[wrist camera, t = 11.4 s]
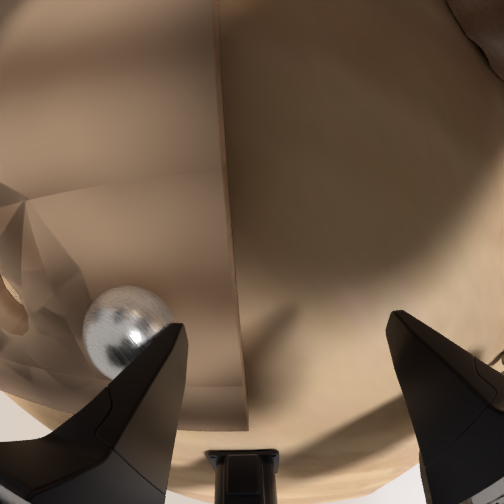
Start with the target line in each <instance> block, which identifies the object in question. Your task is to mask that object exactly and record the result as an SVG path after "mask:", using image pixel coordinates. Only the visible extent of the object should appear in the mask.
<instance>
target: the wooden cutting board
mask: <svg viewBox="0 0 504 504" xmlns="http://www.w3.org/2000/svg"><path fill="white" fill-rule="evenodd" d="M0 274H2V275H3V276H4V277H5V278H6V279H7V281H8V282H9V283H10V285H11V286H12V287H13V288H14V290H15V291H16V292H17V293H18V295H19V297H20V299H21V301H22V303H23V305H21V304H20V303H18V302H17V301H16V300H15V299H14V298H13V296H12V295H11V294H10V293H9V291H8V290H7V289H6V288H5V285H4V283H3V280H2V278H1V276H0V390H2V391H4V392H7V393H9V394H12V395H15V396H17V397H20V398H23V399H26V400H29V401H32V402H35V403H38V404H41V405H44V406H47V407H51V408H54V409H58V410H61V411H65V412H69V413H73V414H76V413H77V412H78V411H80V410H81V409H82V408H83V407H84V406H86V405H87V404H88V403H89V402H90V401H91V400H92V399H93V398H95V397H96V396H97V395H98V394H99V393H100V392H101V391H102V390H103V389H104V388H105V387H108V384H109V383H110V382H111V381H112V379H110V378H108V377H107V376H105V375H104V374H102V373H101V372H100V371H99V370H98V369H97V368H96V367H95V366H94V365H93V363H92V362H91V360H90V359H89V357H88V355H87V353H86V350H85V347H84V343H83V337H82V327H83V321H84V318H85V315H86V312H87V310H88V308H89V307H90V305H91V304H92V302H93V301H94V300H95V299H96V298H97V297H98V296H100V295H101V294H102V293H104V292H105V291H107V290H109V289H112V288H115V287H120V286H136V287H140V288H144V289H146V290H148V291H150V292H152V293H154V294H155V295H157V296H158V297H159V298H161V299H162V300H163V301H164V302H165V303H166V305H167V306H168V307H169V309H170V310H171V312H172V313H173V315H174V318H175V320H176V323H183V324H184V326H185V330H186V334H187V338H188V344H189V347H188V359H187V371H186V384H185V391H184V396H183V401H182V406H181V411H180V416H179V421H178V426H177V430H188V431H249V419H248V395H247V386H246V377H245V367H244V358H243V348H242V338H241V328H240V317H239V307H238V296H237V285H236V274H235V263H234V251H233V239H232V227H231V214H230V201H229V188H228V174H227V160H226V146H225V130H224V114H223V98H222V80H221V61H220V40H219V16H218V0H0Z"/></svg>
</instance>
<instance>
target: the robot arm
mask: <svg viewBox="0 0 504 504" xmlns="http://www.w3.org/2000/svg"><path fill="white" fill-rule="evenodd" d="M386 337H387V341H388V345H389V349H390V353H391V357H392V361H393V365H394V369H395V372H396V375H397V378H398V381H399V384H400V387H401V390H402V393H403V396H404V399H405V402H406V405H407V408H408V411H409V414H410V417H411V421H412V424H413V427H414V431H415V434H416V438H417V441H418V445H419V449H420V452H421V456H422V460H423V464H424V467H425V473H426V477H427V482H428V486H429V491H430V495H431V500H432V504H460V503H462V502H464V501H465V500H467V499H469V498H470V501H471V504H504V375H503V374H502V373H500V372H498V371H496V370H495V369H493V368H491V367H490V366H488V365H487V364H485V363H484V362H482V361H481V360H479V359H478V358H476V357H473V355H472V354H470V353H469V352H467V351H466V350H464V349H463V348H461V347H460V346H458V345H457V344H455V343H454V342H452V341H450V340H449V339H447V338H446V337H444V336H443V335H441V334H440V333H438V332H437V331H435V330H434V329H432V328H430V327H429V326H427V325H426V324H424V323H423V322H421V321H420V320H418V319H416V318H415V317H413V316H412V315H410V314H408V313H407V312H405V311H404V310H396V311H392V312H391V314H390V317H389V320H388V323H387V327H386ZM188 347H189V344H188V338H187V334H186V330H185V326H184V324H183V323H171V324H169V325H168V326H167V327H166V328H165V329H164V330H163V331H162V332H161V333H160V334H159V335H158V336H157V337H156V338H155V339H154V340H153V341H152V342H151V343H150V344H149V345H148V346H147V347H146V348H145V349H144V350H143V351H142V352H141V353H140V354H139V355H138V356H137V357H136V358H135V359H134V360H133V361H132V362H130V363H129V364H128V365H127V366H126V367H125V368H124V369H123V370H122V371H121V372H120V373H119V374H118V375H117V376H116V377H115V378H114V379H113V380H112V381H111V382H110V383H109V384H108V387H105V388H104V389H103V390H102V391H101V392H100V393H99V394H98V395H97V396H96V397H95V398H93V399H92V400H91V401H90V402H89V403H88V404H87V405H86V406H84V407H83V408H82V409H81V410H80V411H78V412H77V413H76V414H75V415H73V416H72V417H71V418H70V419H68V420H67V421H66V422H64V423H63V424H62V425H61V426H59V427H58V428H57V429H56V430H54V431H53V432H51V433H50V434H48V435H46V436H44V437H42V438H38V439H33V440H23V441H12V442H0V504H164V503H165V494H166V489H167V483H168V477H169V471H170V465H171V459H172V454H173V448H174V443H175V437H176V432H177V426H178V421H179V416H180V411H181V406H182V401H183V396H184V391H185V384H186V371H187V359H188ZM208 459H209V461H210V463H211V465H212V467H213V469H214V471H215V473H216V475H215V504H277V492H276V480H275V474H276V473H278V463H279V451H277V450H271V451H253V452H208Z"/></svg>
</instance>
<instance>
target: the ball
mask: <svg viewBox="0 0 504 504" xmlns="http://www.w3.org/2000/svg"><path fill="white" fill-rule="evenodd" d="M171 323H176V320H175V318H174V315H173V313H172V312H171V310H170V309H169V307H168V306H167V305H166V303H165V302H164V301H163V300H162V299H161V298H159V297H158V296H157V295H155V294H154V293H152V292H150V291H148V290H146V289H144V288H140V287H136V286H120V287H115V288H112V289H109V290H107V291H105V292H104V293H102V294H101V295H100V296H98V297H97V298H96V299H95V300H94V301H93V302H92V304H91V305H90V307H89V308H88V310H87V312H86V315H85V318H84V321H83V327H82V337H83V343H84V347H85V350H86V353H87V355H88V357H89V359H90V360H91V362H92V363H93V365H94V366H95V367H96V368H97V369H98V370H99V371H100V372H101V373H102V374H104V375H105V376H107V377H108V378H110V379H112V380H113V379H114V378H115V377H116V376H117V375H118V374H119V373H120V372H121V371H122V370H123V369H124V368H125V367H126V366H127V365H128V364H129V363H130V362H132V361H133V360H134V359H135V358H136V357H137V356H138V355H139V354H140V353H141V352H142V351H143V350H144V349H145V348H146V347H147V346H148V345H149V344H150V343H151V342H152V341H153V340H154V339H155V338H156V337H157V336H158V335H159V334H160V333H161V332H162V331H163V330H164V329H165V328H166V327H167V326H168V325H169V324H171Z"/></svg>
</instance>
